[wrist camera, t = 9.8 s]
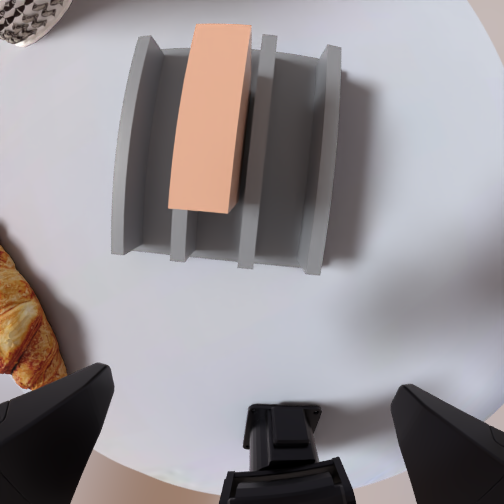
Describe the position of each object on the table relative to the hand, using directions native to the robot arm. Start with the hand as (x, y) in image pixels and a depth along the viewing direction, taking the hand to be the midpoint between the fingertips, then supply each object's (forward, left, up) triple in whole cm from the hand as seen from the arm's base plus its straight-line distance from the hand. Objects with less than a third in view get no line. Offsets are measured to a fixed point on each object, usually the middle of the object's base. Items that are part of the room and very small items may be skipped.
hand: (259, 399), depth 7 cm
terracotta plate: (+8, +2, -11) cm, 14 cm away
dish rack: (+8, +2, -12) cm, 15 cm away
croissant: (-7, +22, -12) cm, 26 cm away
